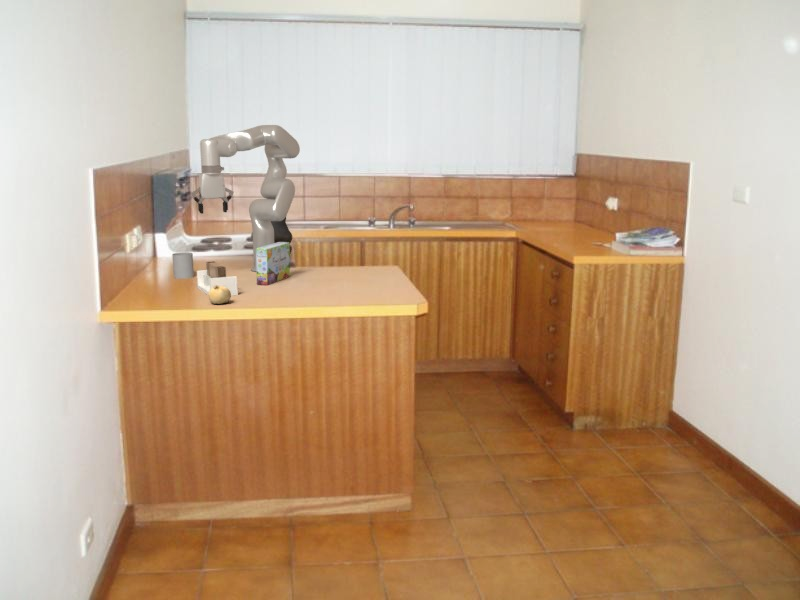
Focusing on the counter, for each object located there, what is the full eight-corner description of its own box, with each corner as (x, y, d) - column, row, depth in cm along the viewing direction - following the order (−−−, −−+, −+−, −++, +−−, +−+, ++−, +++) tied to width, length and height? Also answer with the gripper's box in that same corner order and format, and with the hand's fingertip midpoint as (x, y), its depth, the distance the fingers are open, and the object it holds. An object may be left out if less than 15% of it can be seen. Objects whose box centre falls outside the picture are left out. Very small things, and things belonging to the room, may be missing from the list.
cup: (188, 279, 328) (186, 255, 326) (170, 278, 330) (168, 255, 328) (197, 275, 336) (195, 252, 334) (179, 275, 338) (178, 252, 336)
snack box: (268, 285, 314) (267, 248, 310) (256, 285, 315) (254, 248, 312) (291, 276, 333) (290, 241, 330) (279, 276, 335) (277, 241, 332)
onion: (210, 301, 285) (209, 282, 283) (232, 300, 285) (231, 281, 284) (207, 306, 277) (205, 286, 275) (229, 305, 277) (228, 286, 276)
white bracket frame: (222, 285, 314) (221, 268, 312) (237, 294, 296) (236, 276, 294) (197, 288, 309) (196, 270, 308) (211, 297, 291) (210, 279, 289)
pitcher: (244, 257, 387) (241, 206, 382) (267, 251, 406) (265, 203, 401) (279, 259, 379) (277, 207, 374) (302, 253, 399) (300, 204, 393)
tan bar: (215, 273, 309) (214, 261, 308) (226, 280, 295) (225, 267, 294) (206, 274, 307) (206, 262, 306) (218, 281, 294) (217, 267, 293)
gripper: (229, 169, 322) (231, 210, 325) (187, 170, 314) (189, 213, 317) (234, 170, 315) (236, 212, 319) (191, 171, 307) (194, 214, 311)
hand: (213, 212), depth 318 cm, fingers open, 9 cm apart
